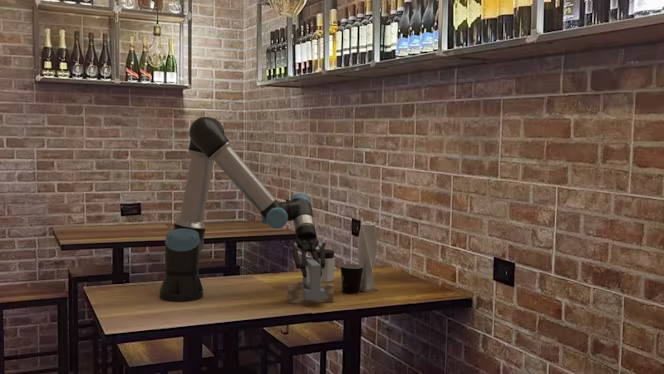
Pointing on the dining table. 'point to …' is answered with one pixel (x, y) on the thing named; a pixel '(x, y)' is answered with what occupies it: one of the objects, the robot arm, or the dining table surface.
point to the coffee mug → (351, 278)
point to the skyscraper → (367, 254)
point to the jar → (327, 265)
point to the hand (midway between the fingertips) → (313, 284)
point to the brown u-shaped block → (297, 293)
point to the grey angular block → (313, 282)
